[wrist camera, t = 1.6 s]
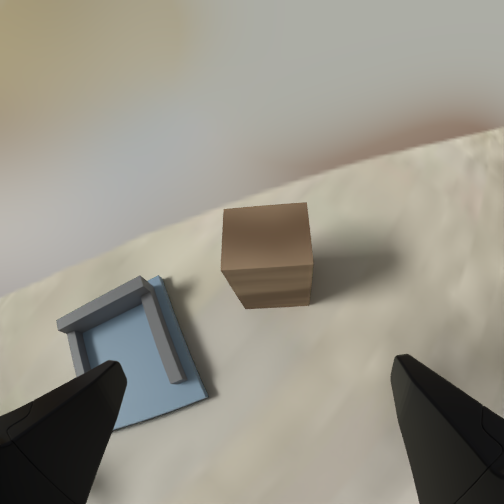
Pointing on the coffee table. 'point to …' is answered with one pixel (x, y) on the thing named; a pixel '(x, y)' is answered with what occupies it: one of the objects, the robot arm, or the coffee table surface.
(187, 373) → the cradle
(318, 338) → the coffee table surface
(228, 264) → the walnut block
